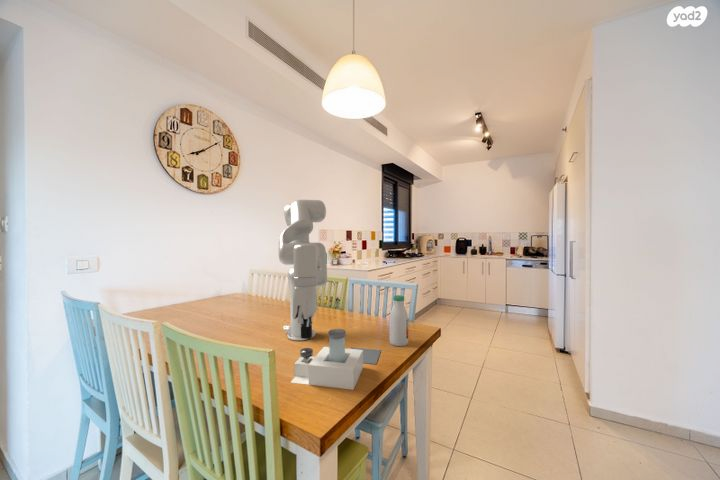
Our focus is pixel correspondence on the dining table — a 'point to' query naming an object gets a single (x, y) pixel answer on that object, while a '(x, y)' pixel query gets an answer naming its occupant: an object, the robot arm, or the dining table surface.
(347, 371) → the housing
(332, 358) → the cartridge
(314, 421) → the dining table surface
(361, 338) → the dining table surface
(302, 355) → the plunger
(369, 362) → the mat
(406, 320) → the milk bottle
